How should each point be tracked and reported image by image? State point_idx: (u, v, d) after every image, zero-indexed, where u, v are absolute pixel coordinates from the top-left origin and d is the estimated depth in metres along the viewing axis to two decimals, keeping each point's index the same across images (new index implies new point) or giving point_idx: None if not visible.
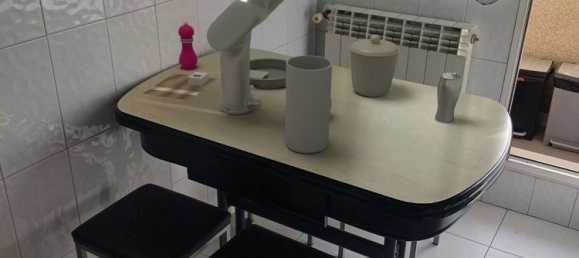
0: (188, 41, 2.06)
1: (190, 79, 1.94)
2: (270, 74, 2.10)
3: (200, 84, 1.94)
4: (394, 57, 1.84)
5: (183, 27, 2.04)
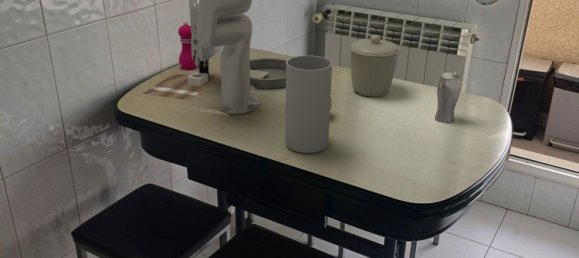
0: (188, 41, 2.06)
1: (189, 79, 1.94)
2: (270, 74, 2.10)
3: (199, 84, 1.93)
4: (394, 57, 1.84)
5: (183, 27, 2.04)
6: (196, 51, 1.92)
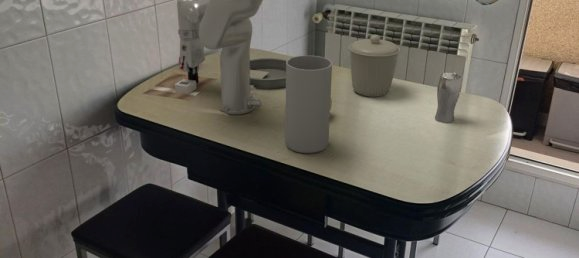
0: None
1: (176, 86, 1.87)
2: (270, 74, 2.10)
3: (186, 92, 1.87)
4: (394, 57, 1.84)
5: None
6: (185, 57, 1.85)
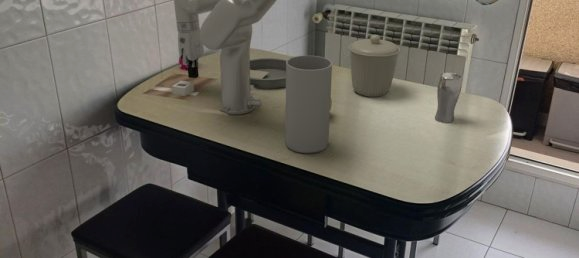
0: None
1: (173, 88, 1.86)
2: (270, 74, 2.10)
3: (184, 94, 1.85)
4: (394, 57, 1.84)
5: None
6: (183, 50, 1.82)
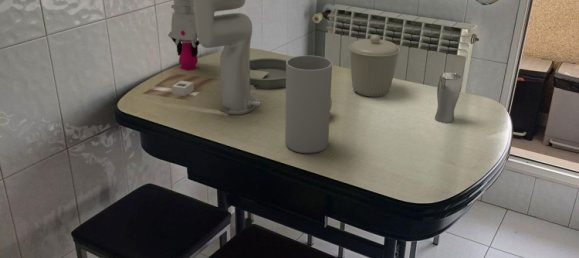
0: (188, 41, 2.06)
1: (173, 88, 1.86)
2: (270, 74, 2.10)
3: (184, 94, 1.85)
4: (394, 57, 1.84)
5: None
6: None
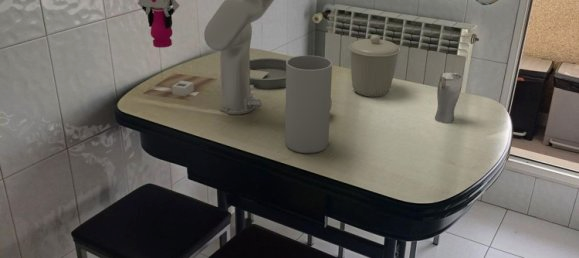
0: (160, 9, 1.77)
1: (173, 88, 1.86)
2: (270, 74, 2.10)
3: (184, 94, 1.85)
4: (394, 57, 1.84)
5: None
6: None
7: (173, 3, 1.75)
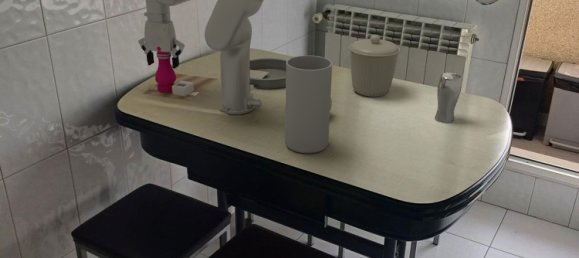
0: (165, 57, 1.83)
1: (173, 88, 1.86)
2: (270, 74, 2.10)
3: (184, 94, 1.85)
4: (394, 57, 1.84)
5: None
6: None
7: (178, 44, 1.81)
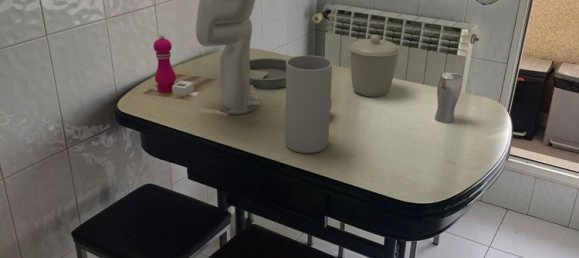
0: (165, 57, 1.83)
1: (173, 88, 1.86)
2: (270, 74, 2.10)
3: (184, 94, 1.85)
4: (394, 57, 1.84)
5: (159, 41, 1.81)
6: None
7: None
